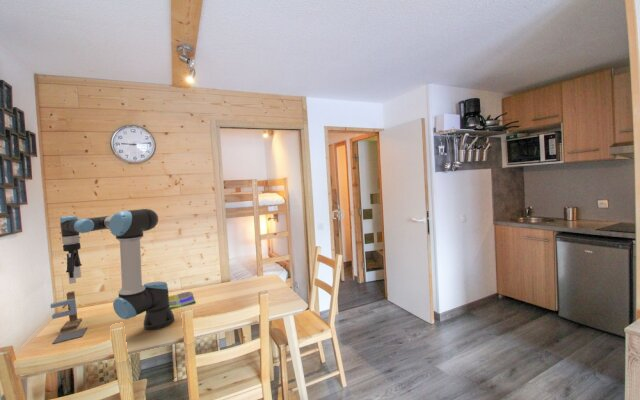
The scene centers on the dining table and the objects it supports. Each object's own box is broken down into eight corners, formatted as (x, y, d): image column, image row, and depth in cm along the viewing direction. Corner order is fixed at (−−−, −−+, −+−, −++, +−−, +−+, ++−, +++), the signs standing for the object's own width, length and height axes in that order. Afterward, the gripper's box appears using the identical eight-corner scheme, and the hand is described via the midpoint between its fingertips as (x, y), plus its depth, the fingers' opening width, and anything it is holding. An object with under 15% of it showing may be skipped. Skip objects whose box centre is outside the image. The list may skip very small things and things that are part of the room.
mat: (82, 337, 155) (81, 335, 155) (52, 344, 150) (52, 343, 150) (87, 328, 166) (87, 327, 166) (59, 334, 160) (59, 333, 160)
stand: (74, 331, 163) (70, 298, 162) (58, 335, 160) (54, 301, 159) (81, 320, 178) (78, 290, 178) (67, 323, 175) (63, 293, 174)
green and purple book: (165, 311, 183) (165, 307, 183) (165, 300, 204) (164, 296, 204) (196, 304, 191) (195, 300, 191) (192, 294, 212) (192, 290, 212)
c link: (76, 312, 167) (74, 298, 167) (75, 313, 165) (73, 299, 165) (54, 317, 163) (51, 303, 162) (52, 319, 160) (50, 304, 160)
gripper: (74, 245, 158) (79, 284, 159) (84, 239, 179) (88, 274, 180) (56, 247, 154) (61, 287, 155) (68, 241, 176) (72, 276, 177)
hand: (75, 280), depth 168 cm, fingers open, 13 cm apart
